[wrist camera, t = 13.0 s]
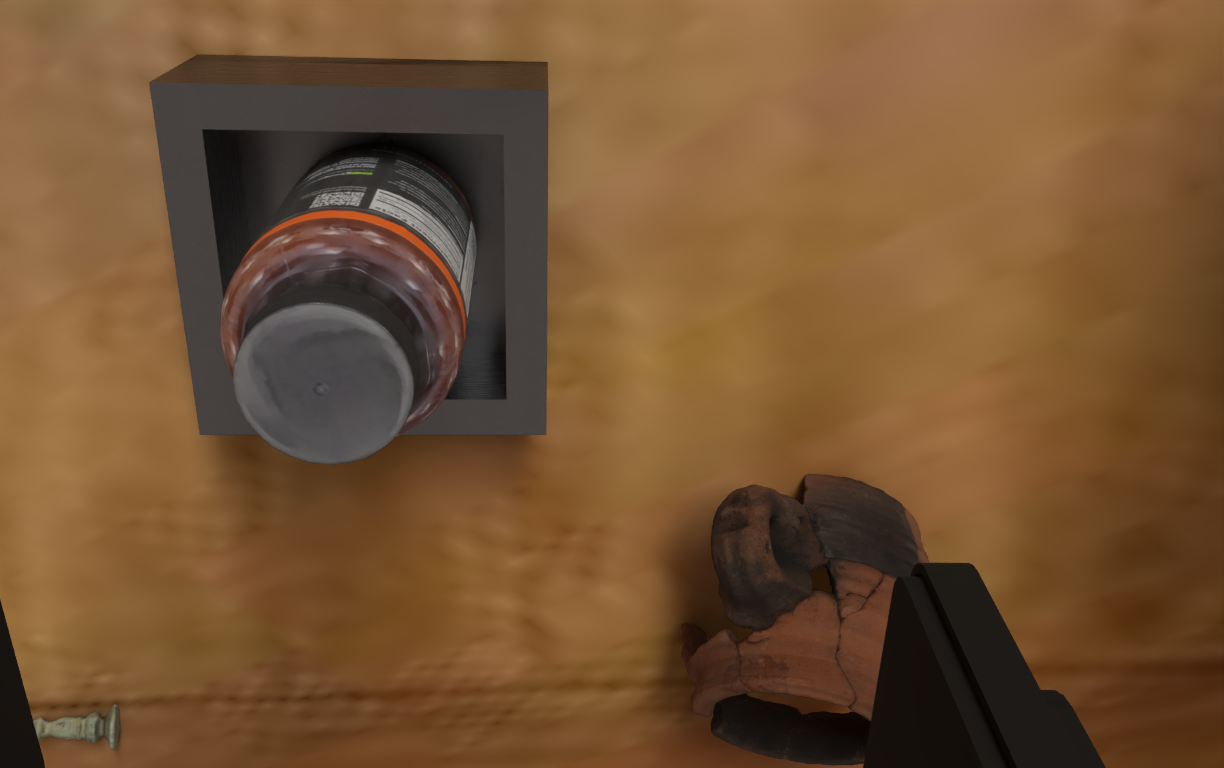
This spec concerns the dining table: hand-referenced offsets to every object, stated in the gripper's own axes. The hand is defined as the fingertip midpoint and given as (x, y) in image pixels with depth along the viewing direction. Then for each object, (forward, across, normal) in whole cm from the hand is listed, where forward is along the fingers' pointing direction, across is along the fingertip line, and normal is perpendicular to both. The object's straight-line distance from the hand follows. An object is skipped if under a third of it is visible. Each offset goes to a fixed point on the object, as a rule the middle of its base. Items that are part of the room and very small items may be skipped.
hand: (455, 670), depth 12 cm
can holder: (+25, +5, +4) cm, 26 cm away
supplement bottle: (+24, +5, +3) cm, 25 cm away
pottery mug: (+26, -9, +17) cm, 32 cm away
